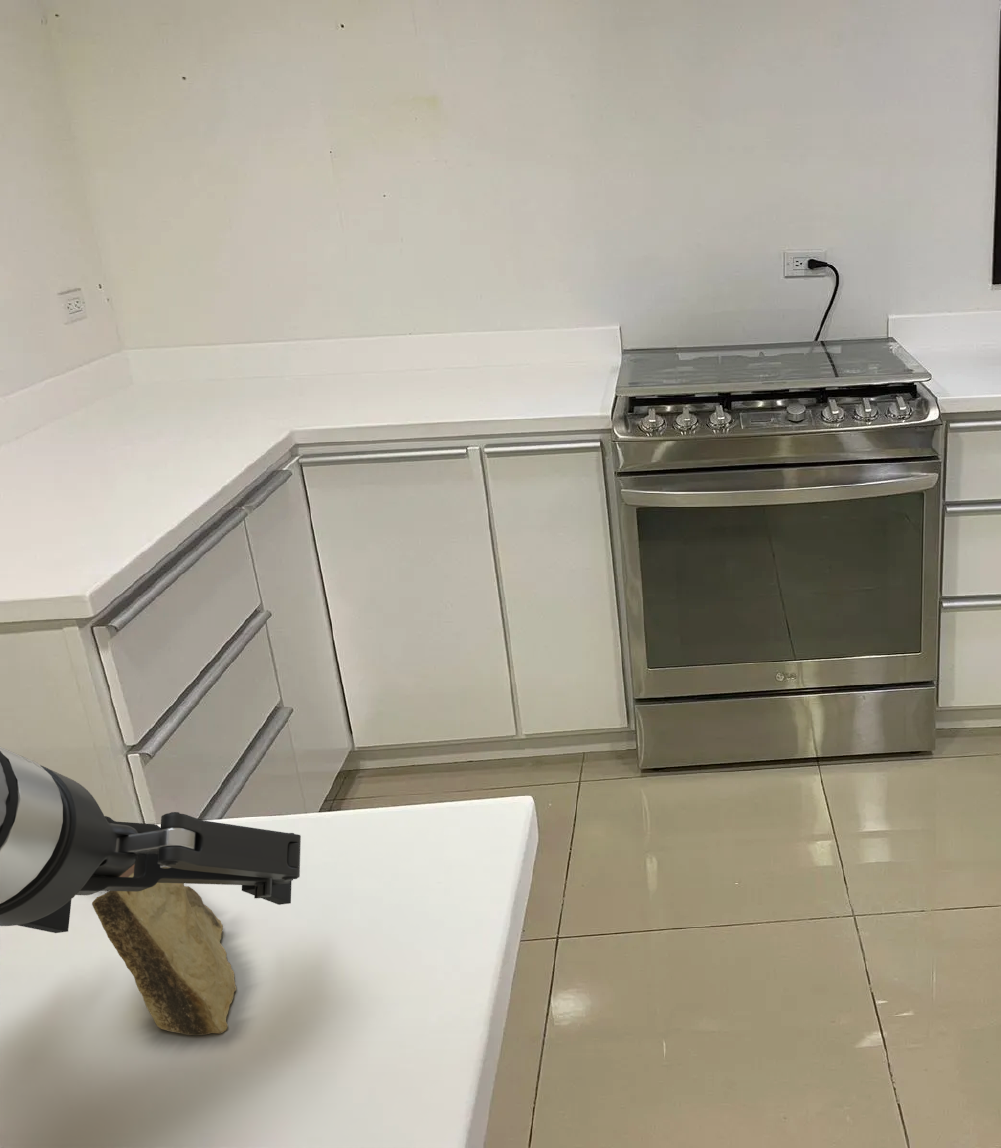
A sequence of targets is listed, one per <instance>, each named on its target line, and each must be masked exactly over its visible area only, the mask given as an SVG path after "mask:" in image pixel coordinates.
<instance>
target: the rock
mask: <svg viewBox="0 0 1001 1148" xmlns="http://www.w3.org/2000/svg"><path fill="white" fill-rule="evenodd" d="M133 876H134V873H132V874H131V875H130V876H129V877H133ZM91 906H92V908H93V910H94V912H95V914H96V915H97V917H98V919H99V921H100V923H101V926H102V928H103V930H104V932H105V934H106V936H107V938H108V939H109V942H110V943H112V946H113V948H114V949H115V950H116V952H117V954H118V956H119V957H120V958H121V959H122V960H123V962H124V963H125V966H126V968H127V970H128V971H129V972H130V973H131V974H132V976H133V978H134V979H133V980H134V982H135V985H136V987H137V989H138V991H139V993H140V994H141V996H142V999H143V1002H144V1004H145V1007H146V1008H147V1010H148V1012H149V1014H150V1015H151V1017H152V1019H153V1021H154V1023H155V1025H156V1027H158V1028H159V1029H160V1030H164V1031H168V1032H173V1033H177V1034H181V1035H187V1036H204V1035H210V1034H219V1035H220V1034H222V1033H224V1032H226V1031H227V1029H228V1026H229V1025H228V1023H227V1016H228V1014H229V1010H230V1007H231V1004H232V1003H233V1001H234V1000H233V999H234V995H235V992H236V991H237V985H236V981H235V970H233V968H232V964H231V963H230V962H229V961H228V958H227V955H228V953H227V952H226V950H225V948H224V946H223V944H222V943H221V939H222V933H223V930H224V924H222V920H221V919H219V918H218V917H217V915H216V914H215V913H214V912H213V910H212V909H211V908H210V907H208V906H207V905H206V904H204V901H203V898H202V897H201V895H200V894H199V893H198V892H197V891H196V890H195V889H194V888H192V887H191V886H187V885H185V883H156V885H154V886H153V887H150V888H147V889H145V890H142V891H137V892H136V891H106V893H103V894H101V895H99V896H97V897H96V898H95V899H94V900H93V901H91Z"/></svg>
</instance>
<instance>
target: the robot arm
mask: <svg viewBox="0 0 1001 1148" xmlns="http://www.w3.org/2000/svg"><path fill="white" fill-rule="evenodd" d="M301 841H302V836H301V834H297V833H294V832H284V831H276V830H271V829H263V828H257V827H250V826H242V825H237V824H229V823H223V822H216V821H210V820H204V819H200V818H197V817H193V816H191V815H188V814H184V813H180V812H179V811H171V812H168V813H164V814H162V815H161V816H160V826H159V825H158V824H155V823H146V822H145V823H144V822H143V823H142V822H129V821H116V820H114V819H113V818H112V817H110V816H107V815H105V814H104V813H103V811H102V808H101V806H100V805H99V804H98V802H97V800H96V799H95V797H94V796H93V794H91V792H90V790H88V789H86V787H85V786H83V785H82V784H80V782H78V781H76V780H74V779H72V778H70V777H68V776H66V775H63V774H61V773H59V772H57V771H54V770H52V769H51V768H48V767H45V766H44V765H41V764H39V763H38V762H36V761H35V760H32V759H30V758H28V757H25V756H23V755H20V754H18V753H16V752H13V751H12V750H10V749H7V748H4V747H2V746H0V927H14V926H18V927H23V928H28V929H32V930H39V931H42V932H43V931H44V932H48V933H53V934H60V933H68V932H69V927H70V917H71V909H72V899H74V897H75V896H91V895H94V894H96V893H99V892H101V891H102V892H109V891H136V892H137V891H142V890H145V889H147V888H150V887H153V886H154V885H156V883H184V884H187V885H188V884H190V885H191V884H192V885H221V886H223V885H227V886H241V891H242V892H243V893H246V894H249V895H251V896H253V897H254V898H253V899H263V900H265V901H268V902H270V903H272V904H275V905H279V906H281V905H289V904H291V903H292V881H294V880H297V879H299V878H300V877H301V875H300V874H301V844H302V842H301ZM134 864H135V865H134ZM133 865H134V876H133V877H120V876H121V875H122V874H123V873H124V872H126V871H127V870H128V869H129V868H130V867H132V866H133Z"/></svg>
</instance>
